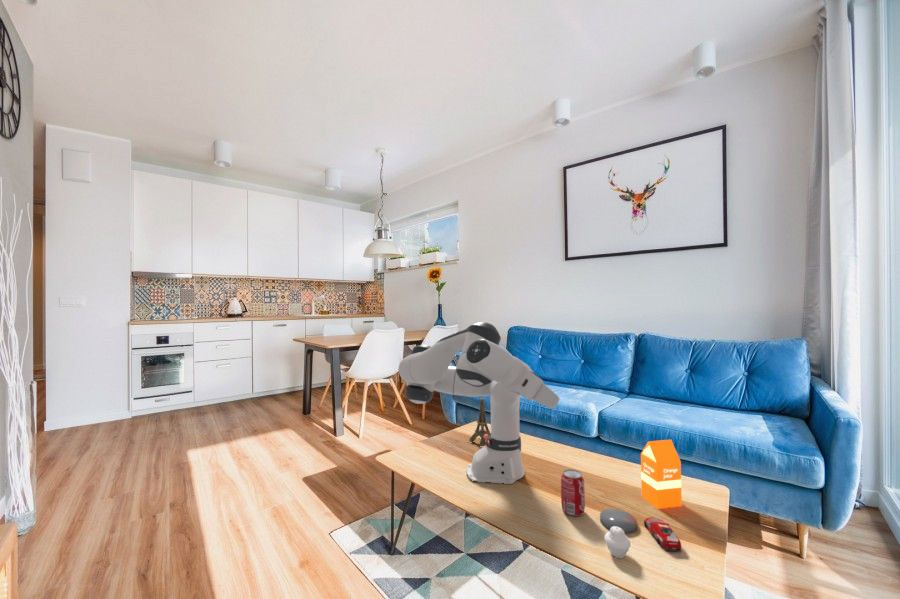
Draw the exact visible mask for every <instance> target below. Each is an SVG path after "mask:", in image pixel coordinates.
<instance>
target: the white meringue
mask: <svg viewBox="0 0 900 599" xmlns="http://www.w3.org/2000/svg"><path fill="white" fill-rule="evenodd" d="M604 541H605V544H606V547H607V549H608V550H609V553H610V554H611V556H613V557H614V556H616V557H615V558H617V557H623V558H625V556H626V554H627V553H628V551H629V549H630V548H631V540H630V539H629V537H628V536H627V534H625V533H624V531H623V529H622V528H620V527H616V526H613V527H611V528H610V530H609V531H608V532H606V534H605V535H604Z"/></svg>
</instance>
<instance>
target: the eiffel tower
mask: <svg viewBox="0 0 900 599" xmlns="http://www.w3.org/2000/svg"><path fill="white" fill-rule="evenodd" d="M478 401H479V412H478V419H477V420H476V423H477V424H476V428H475V430H474V433H473V434H472V436H471V437H470V438H469V440H468V441H470V442H473V441H475V440H476V439H477V438H478V437H481V439H480V442H479V445H480V446H485V445H486V440H485V439H484V435H485V434H488V436H490V435H491V430H490V429H489V427H488V424H489V422H488V421H487V417H486V416H487V415H486V409H485V401H486V400H485V398H483V397H480V398H479V400H478Z"/></svg>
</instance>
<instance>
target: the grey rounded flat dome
mask: <svg viewBox="0 0 900 599" xmlns="http://www.w3.org/2000/svg"><path fill="white" fill-rule="evenodd" d="M599 519H600V524H601V523H602V524H601V525H602V526H603V527H604V528H606V529H607V530H609V531H610V528H611V527H613V526H616V527H620V528H622V529H623V531H624V533H625V535H627V534H633V533H635V532H636V531H637V529H638V521H637V519H636V518H635V516H633V515H632V514H630V513H629V512H627V511H624V510H622V509H616V508H606V509H603V510H602V511H601V512H600V514H599Z"/></svg>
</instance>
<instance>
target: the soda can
mask: <svg viewBox="0 0 900 599" xmlns="http://www.w3.org/2000/svg"><path fill="white" fill-rule="evenodd" d="M585 490H586V489H585V480H584V477H583V474H582V472H580V471H579V470H577V469H564V470H563V471H562V474H561V478H560V496H561V497H560V500H561V501H560V502H561V509H562V511H563V512H564V513H566V514H568V515H569V516H572V517H577V516H580V515H581V516H582V515H583V514H584V513H585V509H586V505H585V504H586V499H585V498H586V496H585Z"/></svg>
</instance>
